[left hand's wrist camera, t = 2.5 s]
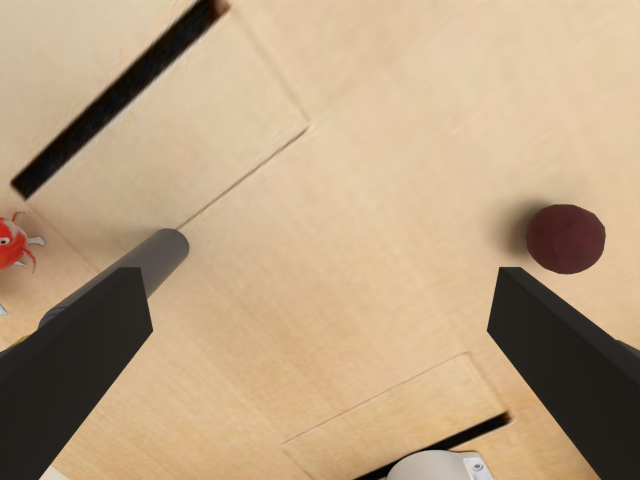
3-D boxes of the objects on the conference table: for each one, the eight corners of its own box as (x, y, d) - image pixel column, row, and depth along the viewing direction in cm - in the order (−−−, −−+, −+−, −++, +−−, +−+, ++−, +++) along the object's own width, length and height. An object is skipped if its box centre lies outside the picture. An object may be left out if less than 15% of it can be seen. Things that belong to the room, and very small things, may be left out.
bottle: (179, 269, 43) (48, 414, 22) (146, 251, 42) (-24, 385, 21) (195, 240, 42) (71, 366, 21) (160, 221, 41) (-5, 333, 20)
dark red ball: (527, 268, 43) (565, 296, 36) (502, 218, 41) (538, 238, 34) (585, 237, 41) (635, 260, 35) (562, 184, 39) (612, 198, 33)
